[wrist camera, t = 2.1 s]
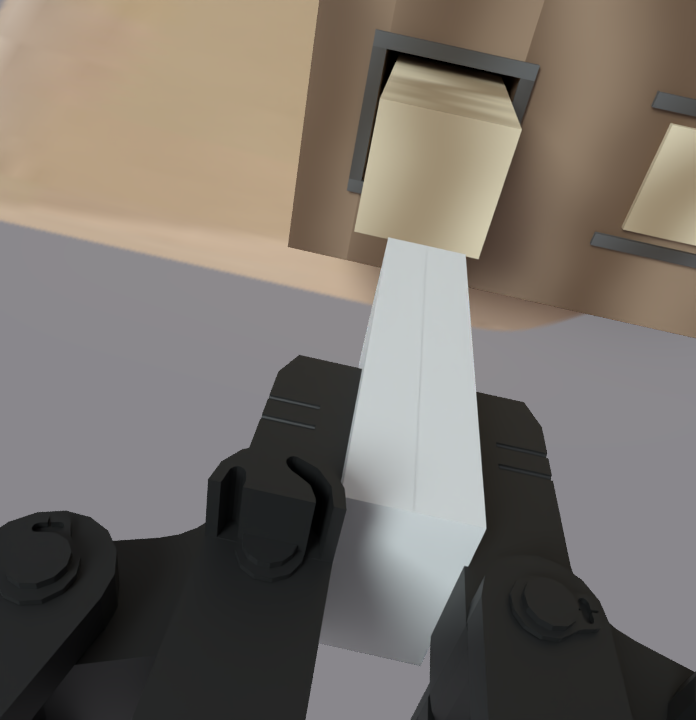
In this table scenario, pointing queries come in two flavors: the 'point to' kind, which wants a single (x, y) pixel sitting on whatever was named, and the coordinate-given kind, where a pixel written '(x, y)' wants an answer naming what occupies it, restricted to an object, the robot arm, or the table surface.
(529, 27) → the wooden box
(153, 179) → the table surface
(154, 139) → the table surface
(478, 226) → the peg
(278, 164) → the table surface
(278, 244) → the table surface
